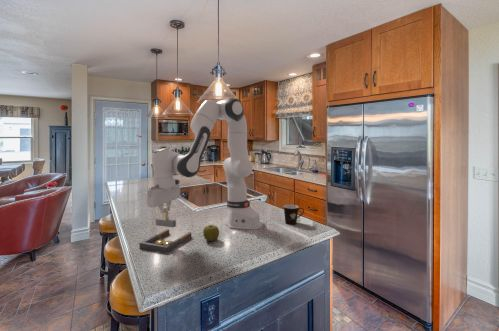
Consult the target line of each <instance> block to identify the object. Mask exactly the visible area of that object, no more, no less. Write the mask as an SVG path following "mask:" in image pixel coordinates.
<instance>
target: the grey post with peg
mask: <svg viewBox="0 0 499 331" xmlns="http://www.w3.org/2000/svg"><path fill="white" fill-rule="evenodd" d="M163 208H164V209H165V213H161V217H157V218H156V219H155V226H158V227H159V226H161V227H166V228H175V227H176V226H177V222H176V221H177V220H176V219H173V218H172V219H170V218H169V211H168V207H166V206H163Z"/></svg>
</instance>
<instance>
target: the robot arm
mask: <svg viewBox="0 0 499 331" xmlns="http://www.w3.org/2000/svg"><path fill="white" fill-rule="evenodd" d="M244 114H245V113H244V105H243V102H242V101H241V100H240V99H237V98H234V97H233V98H225V99H224V98H223V99H221V100H217V101H215V100H212V99H205V100H204V101H203V102H202V103H201V105H200V106H199V107H198V108H197V110H196V112H195V114H194V115H193V117H192V118H191V122H190V125H189V126H190V129H191V131H192V133H193V134H194V140H193V142H192V144H191V147H190V149H189V151H188V152H187V153H186V154H180V153H177V152H176V151H173V150H172V149H171V148H170V147H169V148H168V147H166V148H164V147H163V148H159V149H156V150H154V151H153V153H152V170H153V176H152V178H153V185H152V186H150V187H149V188H148V189H147V194H146V206H147V207H148V208H156V207H158V208H159V213H161V214H162V213H165V209H164V208H163V207H168V212H169V211H170V210H171V205H172V201H175V200H177V199H179V198H180V197H181V186H180V183H181V181H180V179H177V178H174V175H175V174H176V175H179V176H180V175H181V176H183V177H185V178H193V177H195V176H197V174H198V172H200V169H201V161H202V157H203V155H204V152H205V151H206V147H207V145H208V143H209V141H210V138H211V133H212V130H213V128H214V126H215V124H216V122H217V121H226V123H227V149H228V150H229V155H230V157H227V158H225V159H224V161H223V162H222V168H223V170H224V175H225V180H226V186H227V200H226V208H227V212H226V213H227V214H226V219H225V223H224V224H225V225H226V226H227V227H228V228H229V229H240V230H241V229H242V230H258V229H260V228H262V227H263V226H264V223H265V222H264V221H263V220H262V219H261V217H260V213H259V212H257V211H256V210H255V209H254V208H253V207H252V206H250V204H251V203H252V202H251V200H250V201H249V200H248V198H247V197H248V195H247V193H248V190H247V188H248V187H247V184H246V182H245V178H247V177H249V176H250V175H251V174H252V172H253V163H251V160H250V157H249V150H248V125H247V119H246V118H247V117H246V116H245V115H244ZM164 204H166V205H164Z"/></svg>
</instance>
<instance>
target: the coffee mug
mask: <svg viewBox="0 0 499 331" xmlns="http://www.w3.org/2000/svg"><path fill="white" fill-rule="evenodd" d="M300 210H302V212H301V214H299V211H300ZM283 212H284V214H283V215H284V222H285V224H286V225H287V226H288V225H289V226H295V225H297V221H298V218H300V217H301V216H302V215H303V214H304V212H305V210H304V208H303V207H299V206H298V205H296V204H285V205H283ZM298 214H299V215H298Z"/></svg>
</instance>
